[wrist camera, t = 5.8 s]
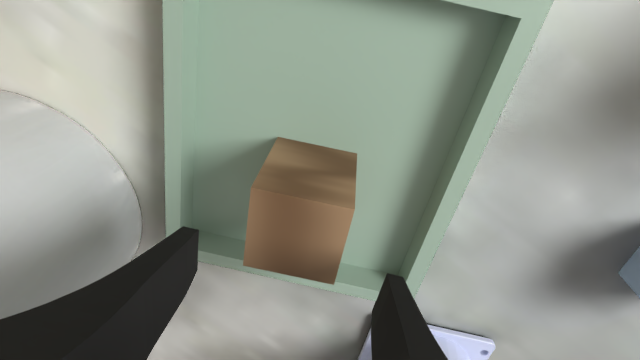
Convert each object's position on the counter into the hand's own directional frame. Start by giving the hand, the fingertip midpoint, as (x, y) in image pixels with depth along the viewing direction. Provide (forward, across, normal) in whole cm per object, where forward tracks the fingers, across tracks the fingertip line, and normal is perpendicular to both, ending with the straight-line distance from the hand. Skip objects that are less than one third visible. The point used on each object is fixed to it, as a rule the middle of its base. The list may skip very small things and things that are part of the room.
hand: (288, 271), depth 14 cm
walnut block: (+6, 0, 0) cm, 6 cm away
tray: (+7, 0, -3) cm, 7 cm away
